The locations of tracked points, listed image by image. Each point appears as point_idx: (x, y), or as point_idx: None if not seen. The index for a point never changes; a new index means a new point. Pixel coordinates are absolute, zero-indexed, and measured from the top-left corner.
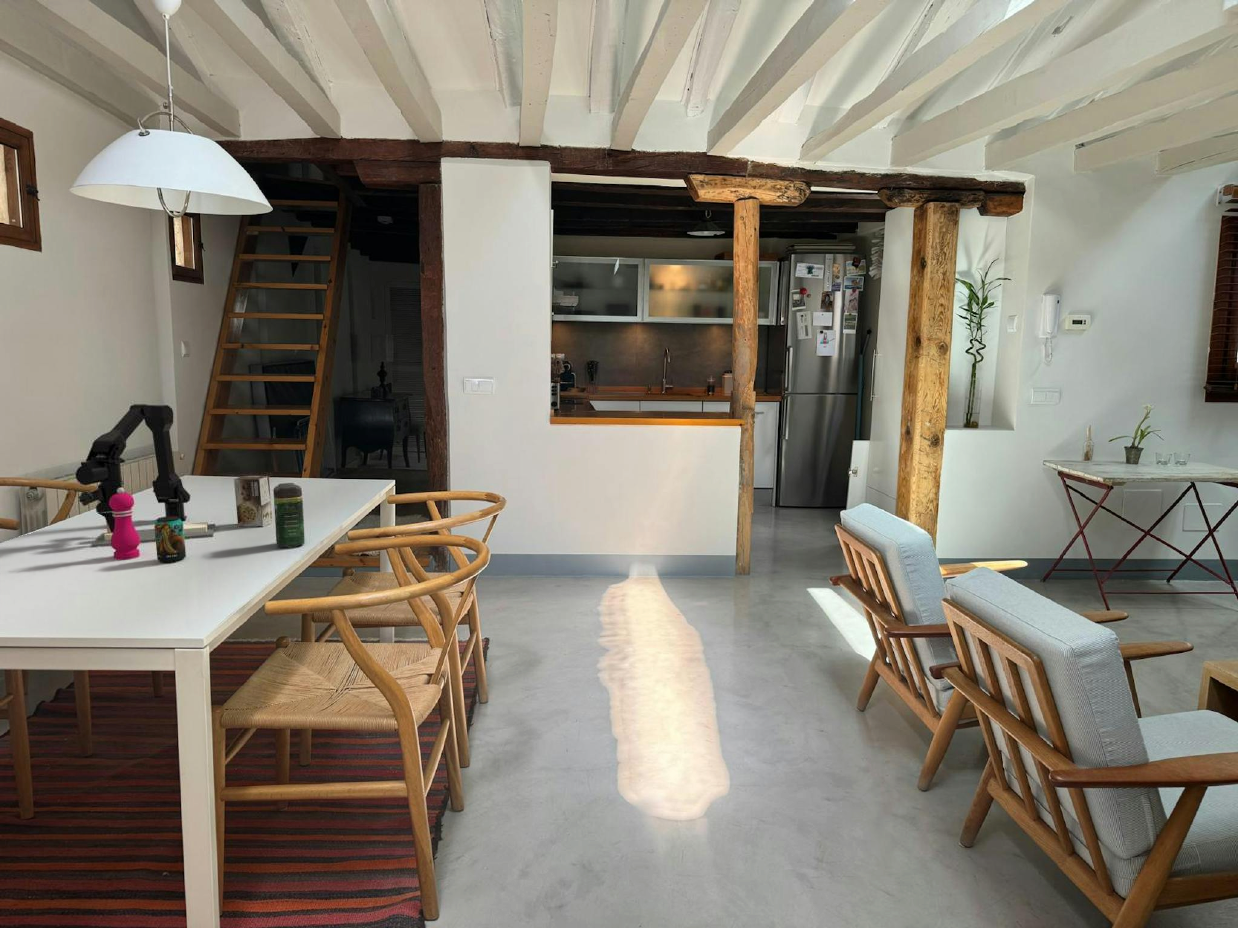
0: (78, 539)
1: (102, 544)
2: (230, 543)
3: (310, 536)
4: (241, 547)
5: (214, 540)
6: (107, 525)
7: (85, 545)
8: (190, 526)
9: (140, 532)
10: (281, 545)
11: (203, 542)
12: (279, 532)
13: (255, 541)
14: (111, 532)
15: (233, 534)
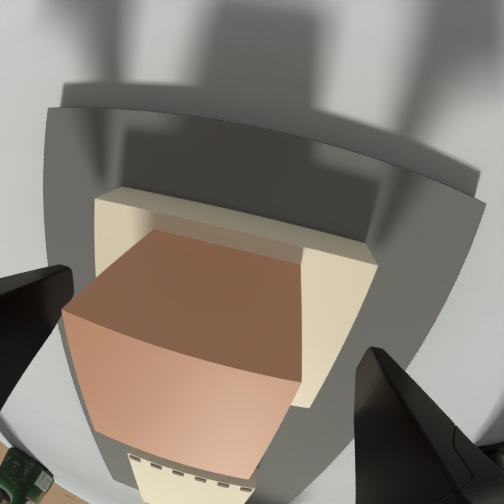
0: (441, 21)
1: (47, 169)
2: (43, 446)
3: (81, 495)
4: (16, 434)
5: (73, 454)
6: (106, 280)
7: (144, 45)
8: (174, 499)
9: (289, 409)
10: (9, 448)
11: (55, 436)
12: (2, 463)
13: (56, 465)
14: (61, 265)
15: (128, 491)
